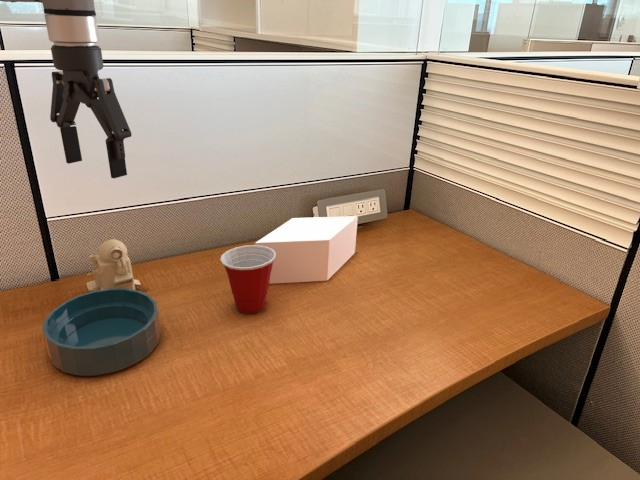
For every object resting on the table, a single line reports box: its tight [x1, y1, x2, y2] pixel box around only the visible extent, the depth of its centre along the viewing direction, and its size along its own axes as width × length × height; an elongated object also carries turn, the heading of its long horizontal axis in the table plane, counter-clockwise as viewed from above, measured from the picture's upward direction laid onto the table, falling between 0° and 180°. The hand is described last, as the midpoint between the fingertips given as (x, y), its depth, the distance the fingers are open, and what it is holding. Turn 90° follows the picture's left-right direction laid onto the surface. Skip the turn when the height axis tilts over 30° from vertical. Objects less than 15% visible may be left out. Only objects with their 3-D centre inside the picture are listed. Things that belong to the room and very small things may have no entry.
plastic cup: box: [220, 244, 276, 315], centre depth 96 cm, size 11×11×12 cm
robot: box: [85, 225, 141, 293], centre depth 98 cm, size 10×8×15 cm
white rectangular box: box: [254, 215, 359, 285], centre depth 112 cm, size 14×29×10 cm, turn 127°
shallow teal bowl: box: [41, 288, 162, 377], centre depth 84 cm, size 18×18×6 cm
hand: (96, 169), depth 88 cm, fingers open, 13 cm apart
